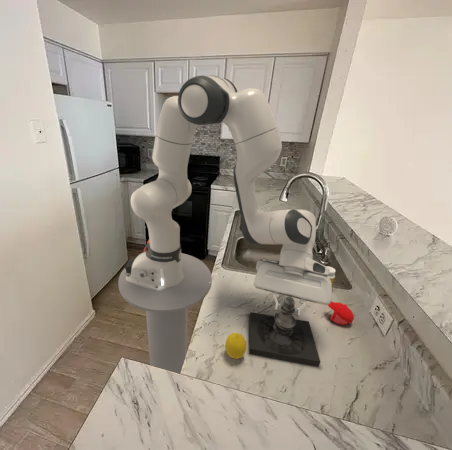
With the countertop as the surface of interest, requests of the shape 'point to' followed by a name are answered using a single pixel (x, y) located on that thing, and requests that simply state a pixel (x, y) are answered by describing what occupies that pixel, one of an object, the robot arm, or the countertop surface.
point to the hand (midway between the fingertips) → (287, 312)
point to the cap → (341, 313)
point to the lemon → (235, 345)
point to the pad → (266, 346)
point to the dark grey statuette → (285, 318)
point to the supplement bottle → (331, 274)
